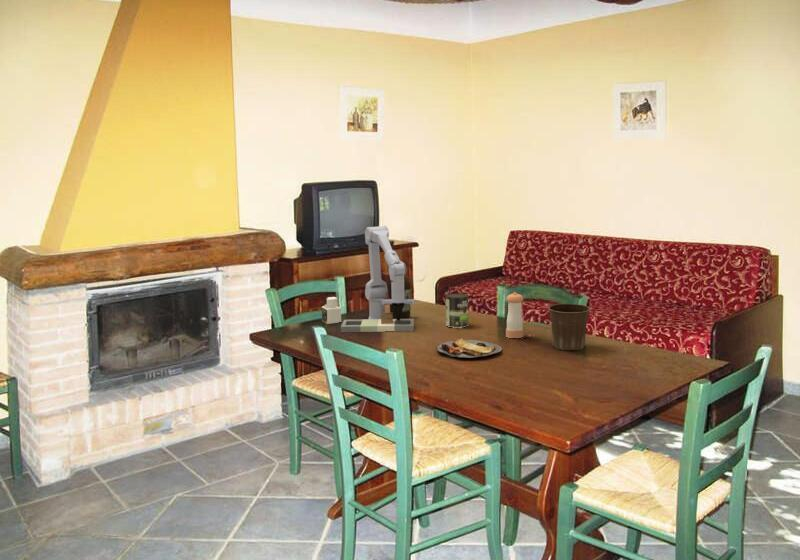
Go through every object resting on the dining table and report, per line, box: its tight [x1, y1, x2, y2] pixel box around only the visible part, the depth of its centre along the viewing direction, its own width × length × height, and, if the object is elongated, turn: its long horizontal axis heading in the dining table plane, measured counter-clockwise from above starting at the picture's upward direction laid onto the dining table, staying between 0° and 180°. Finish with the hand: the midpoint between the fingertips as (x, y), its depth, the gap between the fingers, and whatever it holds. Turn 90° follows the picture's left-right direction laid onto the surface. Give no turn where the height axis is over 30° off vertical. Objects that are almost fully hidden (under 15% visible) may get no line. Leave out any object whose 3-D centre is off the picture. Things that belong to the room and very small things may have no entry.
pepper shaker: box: [505, 291, 524, 339], centre depth 316 cm, size 7×7×19 cm
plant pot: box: [547, 303, 591, 351], centre depth 298 cm, size 16×16×16 cm
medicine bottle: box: [321, 295, 342, 325], centre depth 352 cm, size 7×7×12 cm
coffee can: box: [445, 292, 469, 329], centre depth 338 cm, size 10×10×14 cm
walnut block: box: [381, 312, 393, 324], centre depth 337 cm, size 5×5×4 cm
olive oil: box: [387, 275, 412, 319], centre depth 355 cm, size 11×11×25 cm
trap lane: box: [340, 318, 415, 333], centre depth 338 cm, size 14×32×2 cm, turn 89°
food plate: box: [435, 337, 502, 359], centre depth 295 cm, size 25×23×4 cm
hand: (398, 319), depth 337 cm, fingers closed
